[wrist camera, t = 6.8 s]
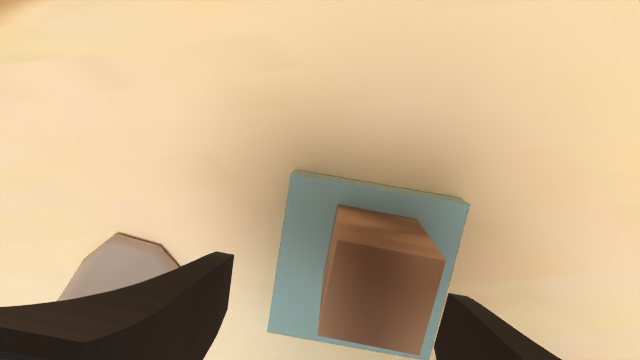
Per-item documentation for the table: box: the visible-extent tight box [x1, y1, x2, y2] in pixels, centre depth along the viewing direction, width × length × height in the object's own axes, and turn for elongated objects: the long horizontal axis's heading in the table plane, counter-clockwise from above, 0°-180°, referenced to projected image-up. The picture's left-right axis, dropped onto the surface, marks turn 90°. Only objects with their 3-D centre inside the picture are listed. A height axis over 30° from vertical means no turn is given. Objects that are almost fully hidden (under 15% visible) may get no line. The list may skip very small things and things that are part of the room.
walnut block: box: [318, 204, 446, 356], centre depth 18 cm, size 4×4×6 cm
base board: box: [267, 170, 470, 360], centre depth 21 cm, size 10×10×2 cm
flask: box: [57, 233, 179, 301], centre depth 18 cm, size 7×7×10 cm
